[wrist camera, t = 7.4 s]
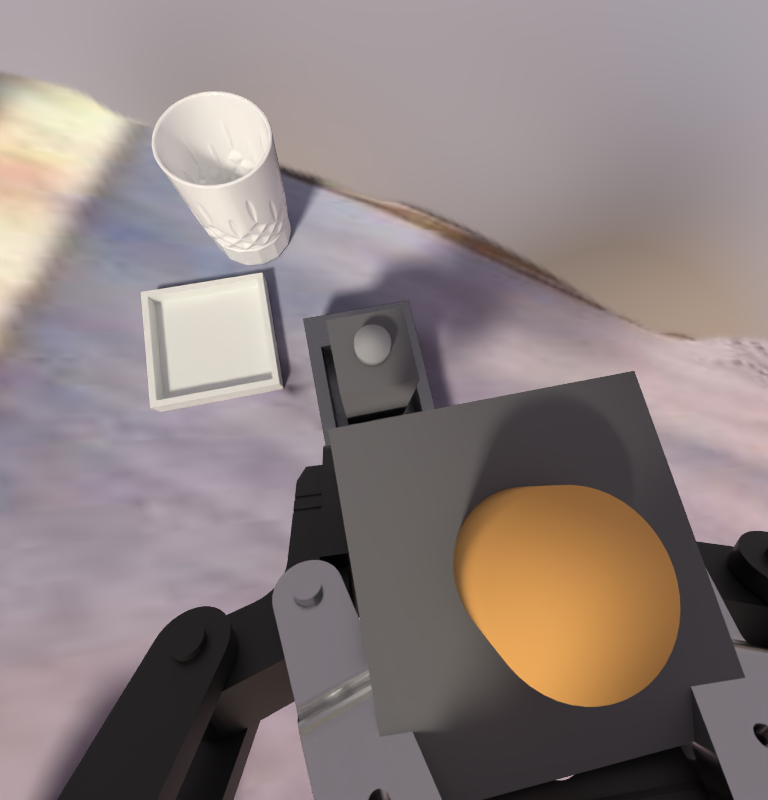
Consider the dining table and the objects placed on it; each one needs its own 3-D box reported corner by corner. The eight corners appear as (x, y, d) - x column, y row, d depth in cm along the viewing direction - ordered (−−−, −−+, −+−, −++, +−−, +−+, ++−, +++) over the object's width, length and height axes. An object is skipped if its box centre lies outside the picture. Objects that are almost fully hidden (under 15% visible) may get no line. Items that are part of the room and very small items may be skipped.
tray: (160, 411, 32) (150, 407, 30) (151, 301, 34) (140, 292, 32) (283, 388, 32) (279, 383, 31) (266, 282, 35) (262, 272, 33)
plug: (378, 594, 14) (403, 947, 3) (356, 470, 15) (315, 411, 4) (497, 567, 14) (891, 800, 3) (467, 448, 15) (702, 339, 4)
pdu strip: (356, 588, 29) (354, 610, 24) (312, 343, 33) (302, 317, 28) (458, 564, 30) (477, 580, 25) (402, 327, 34) (408, 298, 29)
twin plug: (348, 424, 31) (338, 389, 20) (338, 371, 32) (323, 310, 21) (403, 413, 31) (422, 373, 20) (391, 361, 32) (404, 297, 21)
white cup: (315, 235, 36) (296, 141, 26) (249, 288, 34) (202, 209, 25) (259, 182, 37) (220, 72, 27) (192, 231, 35) (126, 133, 26)
